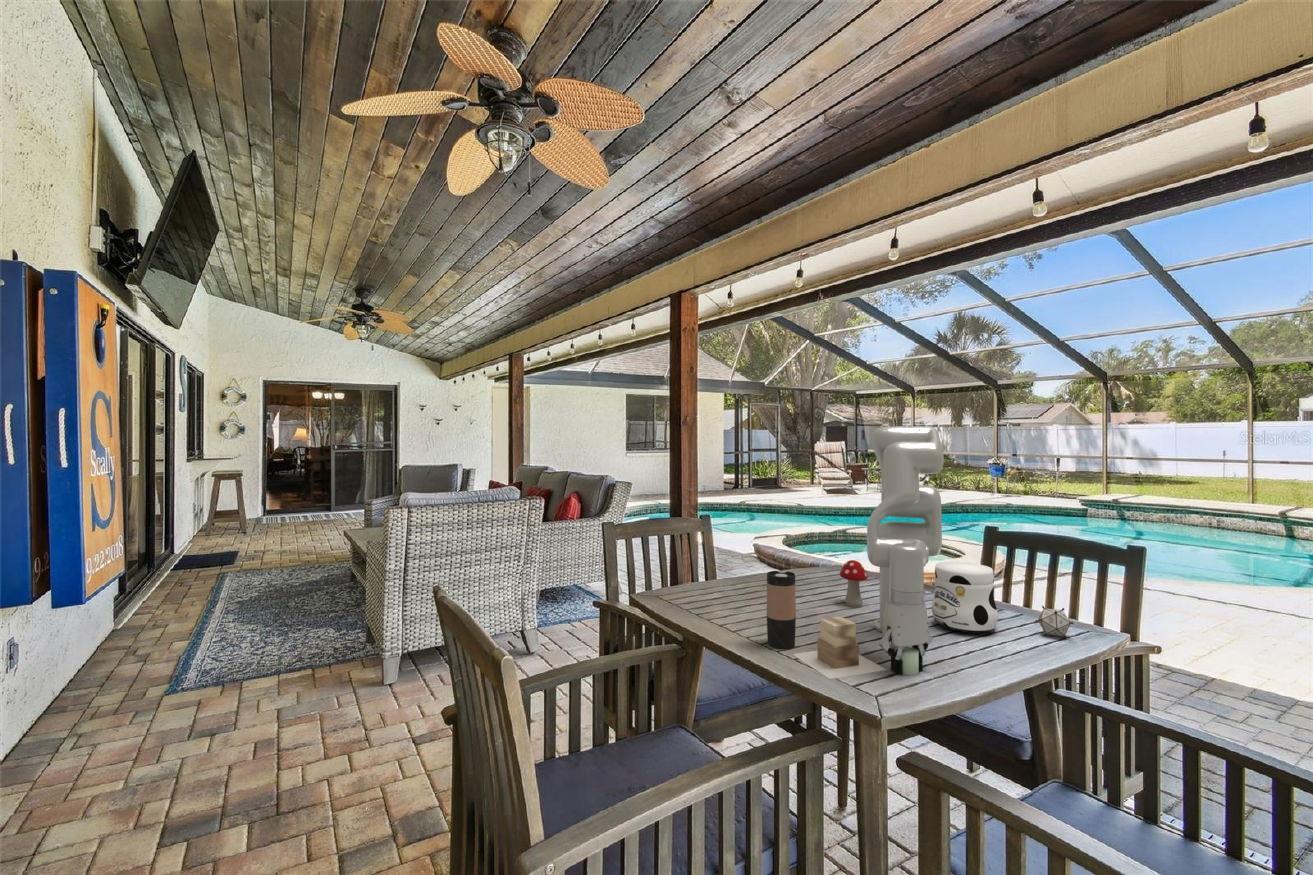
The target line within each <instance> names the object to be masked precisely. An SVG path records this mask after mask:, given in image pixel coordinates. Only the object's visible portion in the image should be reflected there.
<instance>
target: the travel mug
mask: <svg viewBox="0 0 1313 875" xmlns="http://www.w3.org/2000/svg"><path fill="white" fill-rule="evenodd" d="M796 596H797V595H796V573H794V572H793V571H785V572H779V571H778V570H771V571H768V572H766V631H767V632H766V635H767V645H768V646H769V647H770V648H772V649H776V650H783V651H784V650H792V649H794V648H795V646H796V624H797V622H796V621H797V619H796V617H797V616H796V614H797V613H796V612H797V611H796V610H797V607H796V606H797V605H796V602H797V601H796Z"/></svg>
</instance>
